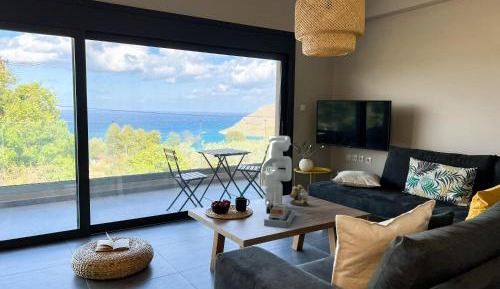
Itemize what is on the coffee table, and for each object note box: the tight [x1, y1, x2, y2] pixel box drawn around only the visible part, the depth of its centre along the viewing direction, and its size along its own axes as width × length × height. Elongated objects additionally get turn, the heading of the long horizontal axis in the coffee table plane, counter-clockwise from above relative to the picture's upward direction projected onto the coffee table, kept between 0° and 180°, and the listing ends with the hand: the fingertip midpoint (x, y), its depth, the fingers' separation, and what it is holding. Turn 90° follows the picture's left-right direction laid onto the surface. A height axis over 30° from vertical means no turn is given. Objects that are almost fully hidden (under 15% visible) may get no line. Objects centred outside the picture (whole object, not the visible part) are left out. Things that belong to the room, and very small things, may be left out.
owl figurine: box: [288, 184, 309, 207], centre depth 318 cm, size 18×12×17 cm, turn 55°
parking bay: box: [263, 208, 296, 229], centre depth 273 cm, size 32×17×4 cm, turn 165°
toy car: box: [268, 203, 289, 221], centre depth 273 cm, size 11×25×10 cm, turn 164°
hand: (269, 211), depth 275 cm, fingers open, 9 cm apart
